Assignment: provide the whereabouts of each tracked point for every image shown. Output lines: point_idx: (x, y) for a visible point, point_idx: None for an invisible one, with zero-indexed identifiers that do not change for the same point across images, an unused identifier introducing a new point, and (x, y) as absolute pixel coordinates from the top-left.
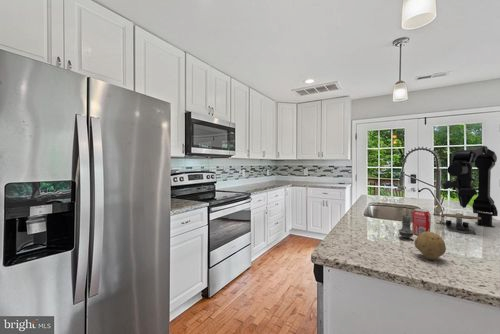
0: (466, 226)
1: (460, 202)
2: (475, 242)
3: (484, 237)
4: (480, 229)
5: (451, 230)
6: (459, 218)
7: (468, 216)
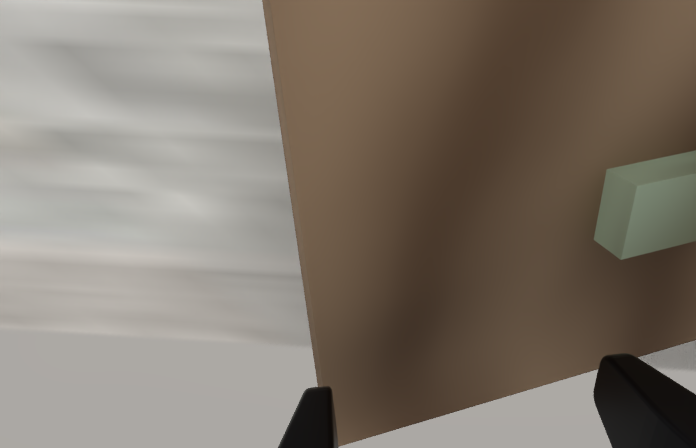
0: None
1: (668, 444)
2: (8, 211)
3: None
4: None
5: None
6: None
7: (313, 323)
